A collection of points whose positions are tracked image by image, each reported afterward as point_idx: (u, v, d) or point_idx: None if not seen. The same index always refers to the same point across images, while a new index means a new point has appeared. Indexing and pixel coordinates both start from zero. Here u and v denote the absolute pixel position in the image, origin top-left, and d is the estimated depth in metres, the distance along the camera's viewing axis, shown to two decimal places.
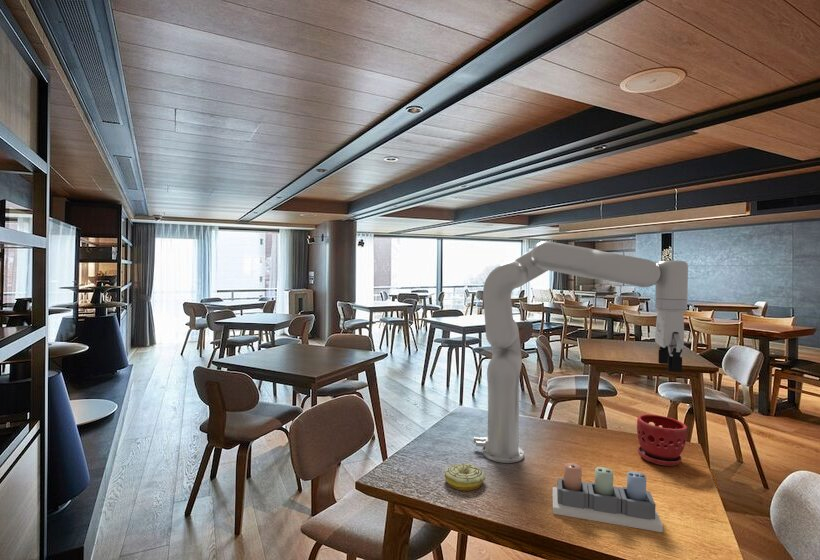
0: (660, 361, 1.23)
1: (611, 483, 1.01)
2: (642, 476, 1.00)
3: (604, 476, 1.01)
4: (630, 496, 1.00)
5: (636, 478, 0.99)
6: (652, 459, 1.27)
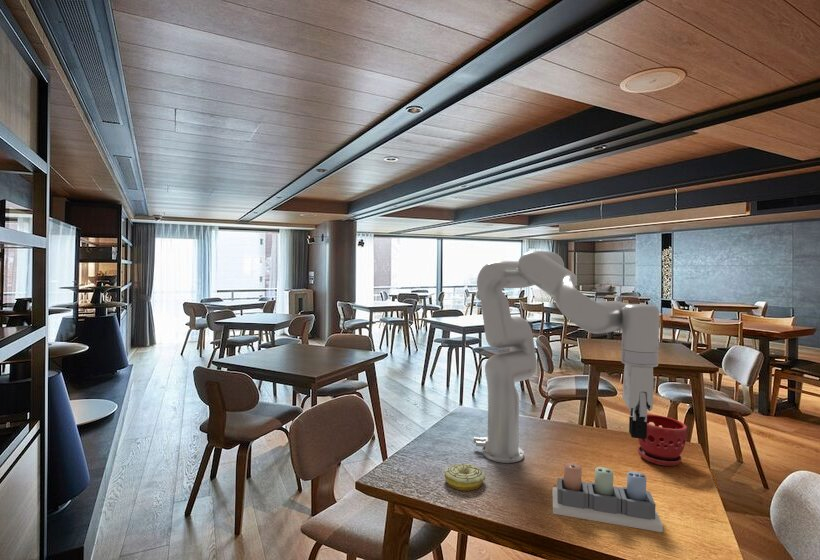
0: (631, 431, 1.01)
1: (611, 483, 1.01)
2: (642, 476, 1.00)
3: (604, 476, 1.01)
4: (630, 496, 1.00)
5: (636, 478, 0.99)
6: (652, 459, 1.27)
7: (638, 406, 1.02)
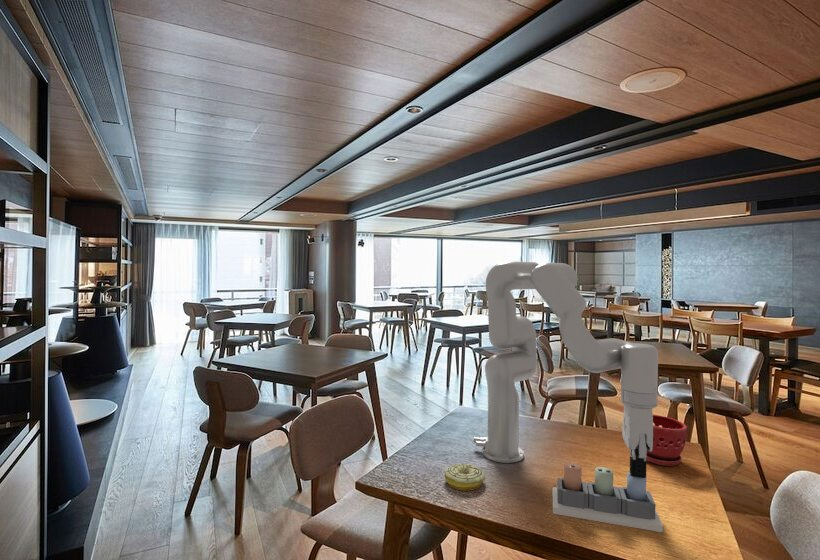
0: None
1: (611, 483, 1.01)
2: None
3: (604, 476, 1.01)
4: (630, 496, 1.00)
5: (636, 479, 0.99)
6: (652, 459, 1.27)
7: None
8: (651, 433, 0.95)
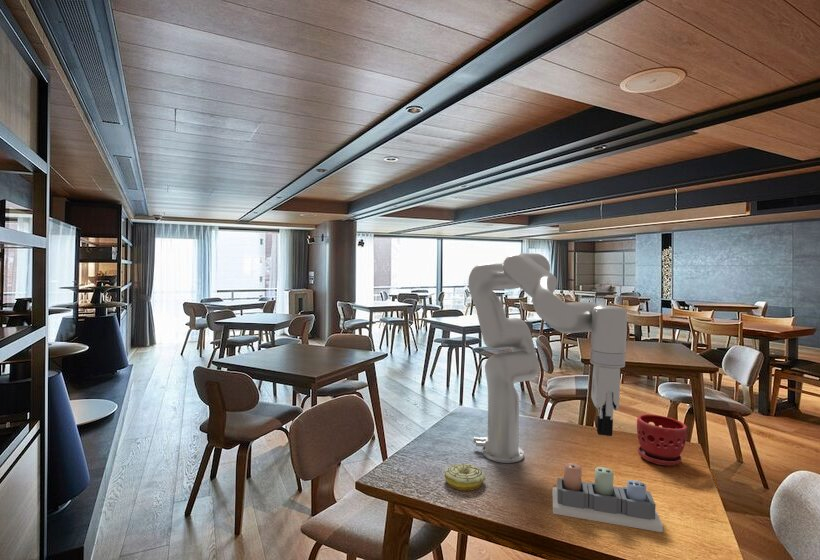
0: None
1: (611, 483, 1.01)
2: (642, 485, 1.00)
3: (604, 476, 1.01)
4: None
5: (636, 487, 0.99)
6: (652, 459, 1.27)
7: (606, 406, 1.04)
8: (618, 391, 0.97)
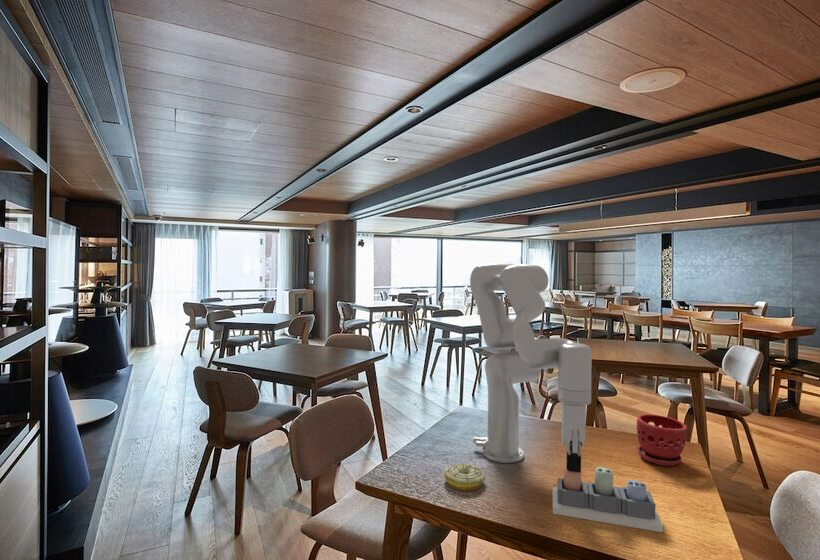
0: None
1: (611, 483, 1.01)
2: (642, 485, 1.00)
3: (604, 476, 1.01)
4: None
5: (636, 487, 0.99)
6: (652, 459, 1.27)
7: None
8: (583, 429, 0.99)
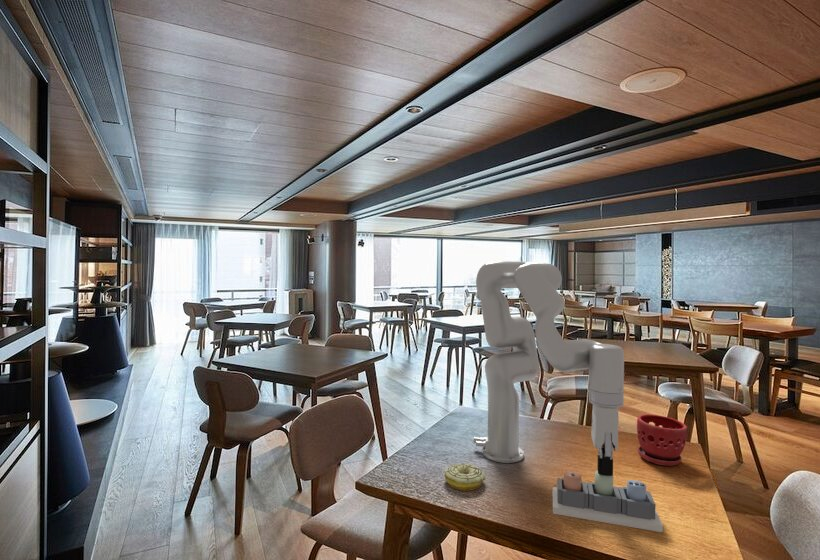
0: None
1: (611, 486, 1.01)
2: (642, 485, 1.00)
3: (604, 479, 1.01)
4: None
5: (636, 487, 0.99)
6: (652, 459, 1.27)
7: None
8: (616, 432, 0.97)
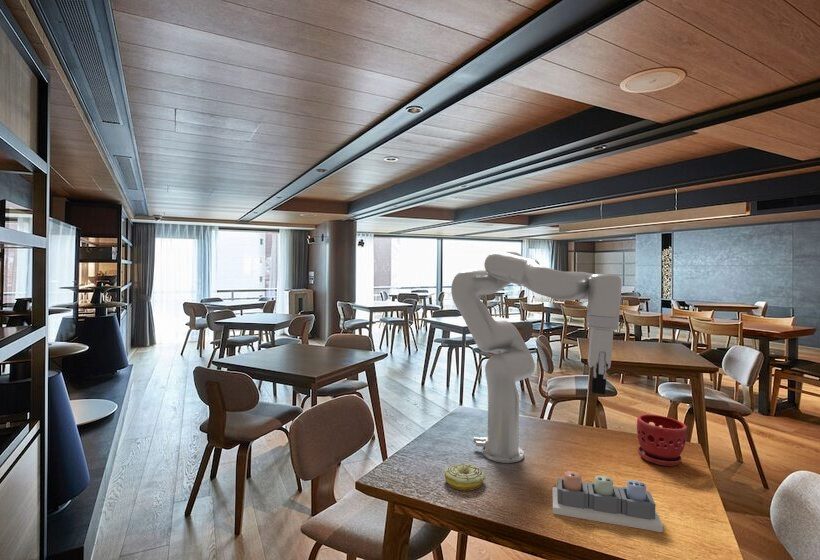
0: None
1: (611, 492, 1.01)
2: (642, 485, 1.00)
3: (604, 485, 1.01)
4: None
5: (636, 487, 0.99)
6: (652, 459, 1.27)
7: None
8: (610, 351, 1.06)
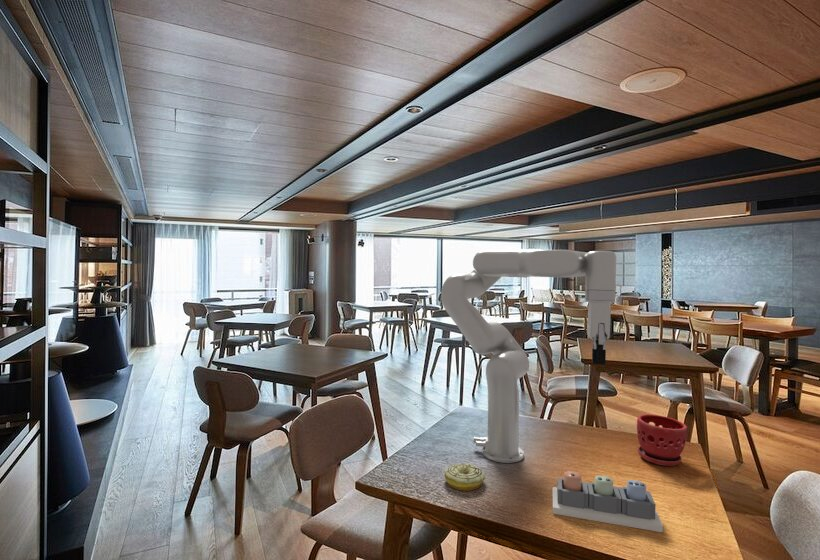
0: None
1: (611, 492, 1.01)
2: (642, 485, 1.00)
3: (604, 485, 1.01)
4: None
5: (636, 487, 0.99)
6: (652, 459, 1.27)
7: None
8: (608, 322, 1.12)
